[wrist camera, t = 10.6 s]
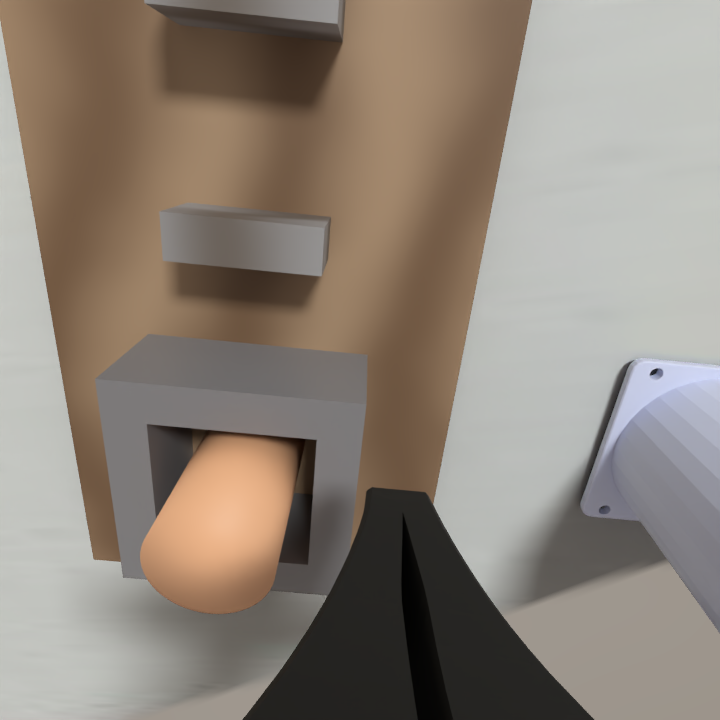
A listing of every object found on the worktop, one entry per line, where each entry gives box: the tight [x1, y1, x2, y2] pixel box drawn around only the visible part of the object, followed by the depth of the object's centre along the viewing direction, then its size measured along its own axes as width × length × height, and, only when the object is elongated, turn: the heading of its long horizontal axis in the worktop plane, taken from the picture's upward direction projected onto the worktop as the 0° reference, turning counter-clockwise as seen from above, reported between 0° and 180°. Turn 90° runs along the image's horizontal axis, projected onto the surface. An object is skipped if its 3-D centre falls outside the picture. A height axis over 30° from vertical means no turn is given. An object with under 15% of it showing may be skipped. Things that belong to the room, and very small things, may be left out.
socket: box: [95, 334, 368, 595], centre depth 19 cm, size 9×9×4 cm
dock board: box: [0, 0, 532, 562], centre depth 18 cm, size 16×26×4 cm, turn 175°
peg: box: [140, 430, 305, 614], centre depth 18 cm, size 4×4×7 cm
